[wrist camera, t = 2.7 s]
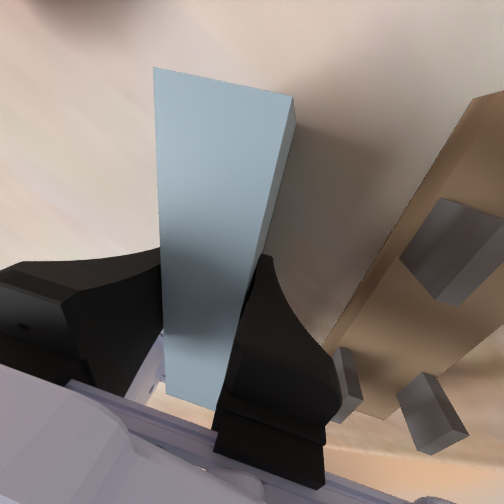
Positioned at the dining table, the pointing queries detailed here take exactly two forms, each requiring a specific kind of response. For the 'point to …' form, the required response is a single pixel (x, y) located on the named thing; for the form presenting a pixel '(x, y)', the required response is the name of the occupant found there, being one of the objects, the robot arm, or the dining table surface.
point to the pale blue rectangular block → (212, 216)
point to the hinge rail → (430, 287)
